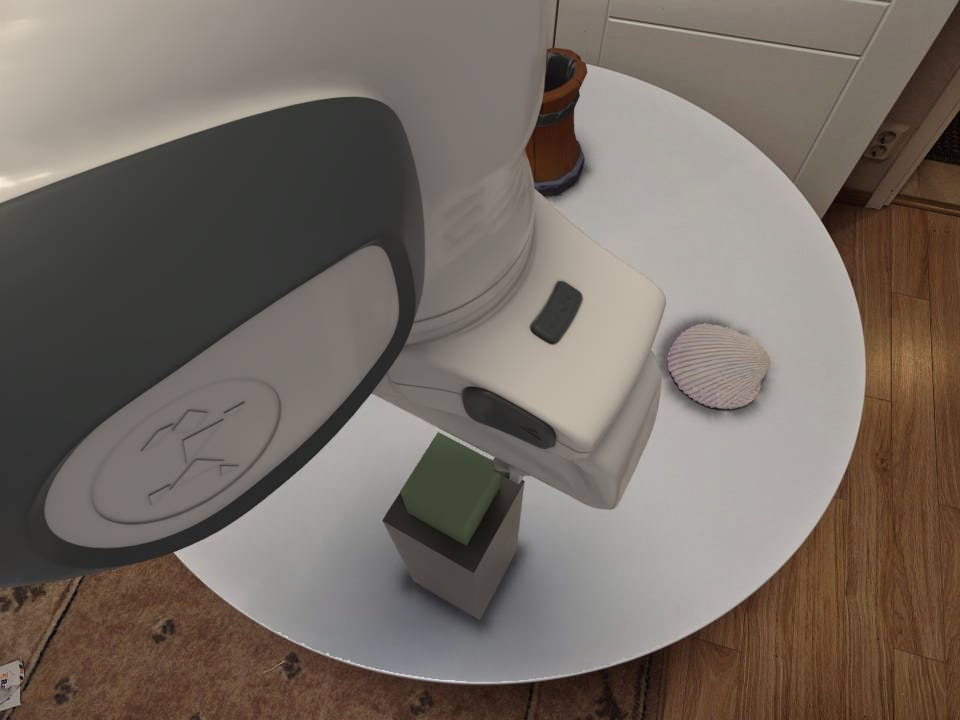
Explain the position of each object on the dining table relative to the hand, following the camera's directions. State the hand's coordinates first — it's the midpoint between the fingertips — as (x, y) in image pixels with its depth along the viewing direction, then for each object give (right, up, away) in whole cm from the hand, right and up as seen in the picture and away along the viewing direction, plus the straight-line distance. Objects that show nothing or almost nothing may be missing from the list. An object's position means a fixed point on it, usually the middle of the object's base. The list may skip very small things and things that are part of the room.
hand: (433, 423), depth 35 cm
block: (+1, -6, +10) cm, 12 cm away
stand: (+1, -16, +27) cm, 32 cm away
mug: (+7, +29, +52) cm, 60 cm away
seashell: (+28, +2, +37) cm, 46 cm away
